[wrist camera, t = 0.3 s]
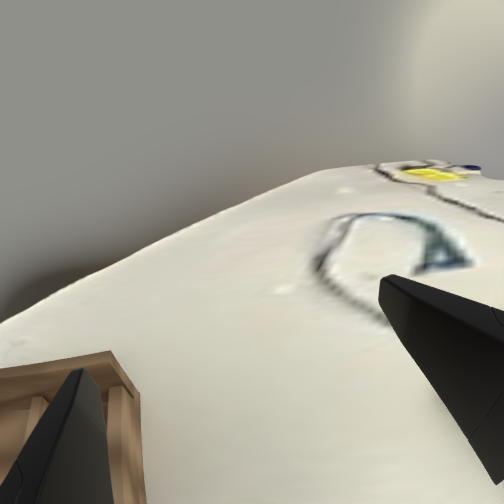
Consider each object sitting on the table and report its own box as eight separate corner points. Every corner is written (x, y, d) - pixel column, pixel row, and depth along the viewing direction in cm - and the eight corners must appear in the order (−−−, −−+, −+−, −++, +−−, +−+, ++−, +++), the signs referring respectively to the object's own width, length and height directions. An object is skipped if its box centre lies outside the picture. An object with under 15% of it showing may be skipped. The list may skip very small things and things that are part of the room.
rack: (155, 563, 13) (109, 554, 9) (-16, 535, 10) (-66, 508, 7) (139, 394, 26) (110, 350, 23) (2, 408, 24) (-32, 372, 21)
